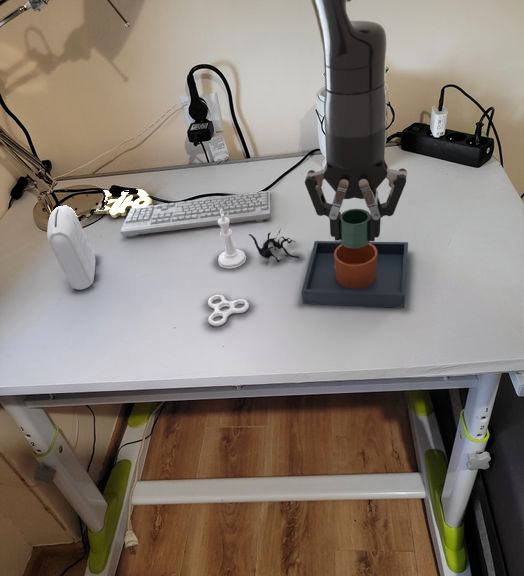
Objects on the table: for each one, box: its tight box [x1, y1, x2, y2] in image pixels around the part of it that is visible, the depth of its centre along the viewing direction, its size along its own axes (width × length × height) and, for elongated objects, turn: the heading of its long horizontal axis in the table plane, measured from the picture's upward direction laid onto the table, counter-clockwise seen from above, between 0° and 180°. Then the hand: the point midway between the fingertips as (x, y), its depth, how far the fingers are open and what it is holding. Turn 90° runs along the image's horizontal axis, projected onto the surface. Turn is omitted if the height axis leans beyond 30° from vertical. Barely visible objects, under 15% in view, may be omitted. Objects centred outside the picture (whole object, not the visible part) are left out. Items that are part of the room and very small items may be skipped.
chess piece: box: [217, 209, 247, 269], centre depth 86 cm, size 5×5×10 cm
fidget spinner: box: [207, 294, 250, 327], centre depth 80 cm, size 7×6×1 cm
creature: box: [248, 228, 300, 263], centre depth 87 cm, size 8×5×8 cm
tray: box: [301, 240, 409, 309], centre depth 80 cm, size 15×13×2 cm
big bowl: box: [334, 243, 378, 289], centre depth 79 cm, size 6×6×4 cm
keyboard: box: [119, 190, 271, 238], centre depth 100 cm, size 29×10×2 cm, turn 90°
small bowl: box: [339, 208, 371, 249], centre depth 74 cm, size 4×4×4 cm
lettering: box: [84, 189, 154, 219], centre depth 109 cm, size 25×10×1 cm, turn 80°
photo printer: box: [46, 205, 96, 291], centre depth 88 cm, size 10×4×12 cm, turn 11°
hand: (355, 237), depth 75 cm, fingers closed on small bowl, 4 cm apart
